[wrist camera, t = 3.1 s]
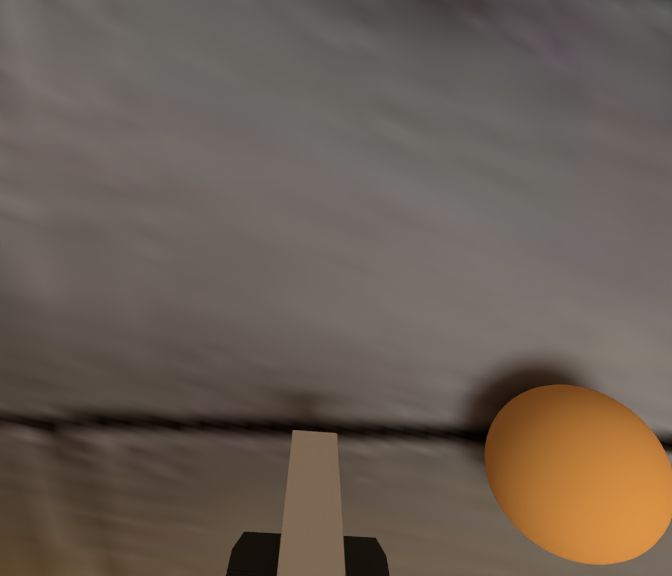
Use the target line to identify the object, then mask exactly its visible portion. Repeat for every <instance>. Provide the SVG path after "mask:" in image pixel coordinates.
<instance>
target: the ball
mask: <svg viewBox="0 0 672 576" xmlns="http://www.w3.org/2000/svg"><path fill="white" fill-rule="evenodd" d="M485 466H486V473H487V477H488V480H489V484H490V487H491V489H492V492H493V494H494V496H495V498H496V500H497V502H498V504H499V505H500V507H501V509H502V510H503V512H504V513H505V514H506V516H507V517H508V518H509V520H510V521H511V522H512V523H513V524H514V525H515V526H516V527H517V528H518V529H519V530H520V531H521V532H522V533H523V534H524V535H525V536H526V537H528V538H529V539H530V540H532V541H533V542H534V543H536V544H537V545H539V546H540V547H542V548H543V549H545V550H547V551H549V552H551V553H553V554H555V555H558V556H560V557H563V558H565V559H569V560H572V561H576V562H580V563H586V564H598V565H605V564H614V563H619V562H623V561H627V560H630V559H632V558H635V557H637V556H639V555H641V554H643V553H644V552H646V551H647V550H649V549H650V548H651V547H652V546H653V545H654V544H655V543H656V542H657V541H658V540H659V539H660V538H661V536H662V535H663V534H664V532H665V531H666V529H667V527H668V525H669V523H670V520H671V518H672V468H671V465H670V462H669V460H668V457H667V455H666V453H665V451H664V449H663V447H662V445H661V444H660V442H659V440H658V439H657V437H656V436H655V435H654V433H653V432H652V431H651V430H650V428H649V427H648V426H647V425H646V424H645V422H644V421H642V420H641V419H640V418H639V417H638V416H637V415H636V414H635V413H633V412H632V411H631V410H630V409H629V408H627V407H626V406H624V405H623V404H621V403H620V402H618V401H616V400H615V399H613V398H611V397H609V396H607V395H604V394H602V393H600V392H598V391H594V390H591V389H588V388H584V387H580V386H573V385H558V384H557V385H547V386H541V387H536V388H533V389H530V390H528V391H526V392H523V393H521V394H520V395H518V396H516V397H515V398H513V399H512V400H511V401H509V402H508V403H507V404H506V405H505V406H504V407H503V408H502V409H501V410H500V411H499V413H498V414H497V415H496V417H495V419H494V420H493V422H492V424H491V427H490V429H489V432H488V435H487V439H486V445H485Z"/></svg>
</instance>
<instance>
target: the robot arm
mask: <svg viewBox="0 0 672 576" xmlns="http://www.w3.org/2000/svg"><path fill="white" fill-rule="evenodd" d="M226 576H389V570H388V564H387V558H386V555H385V553H384V551H383V550H382V548H381V546H380V544H379V543H378V541H377V539H376V538H370V537H352V536H343V526H342V509H341V493H340V476H339V459H338V443H337V433H325V432H312V431H298V430H293V432H292V441H291V450H290V460H289V469H288V478H287V487H286V496H285V506H284V515H283V524H282V533H281V534H276V533H258V532H244V533H243V534H242V536H241V537H240V539H239V540H238V541H237V543H236V544H235V546H234V547H233V549H232V552H231V556H230V561H229V565H228V569H227V574H226Z"/></svg>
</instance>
